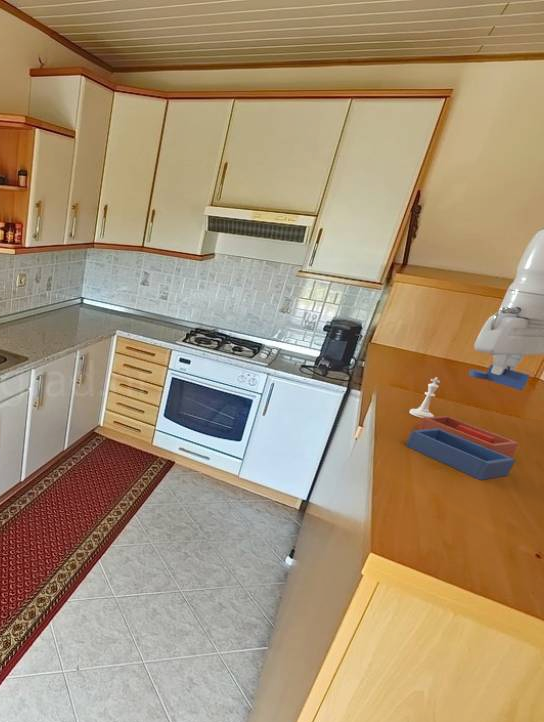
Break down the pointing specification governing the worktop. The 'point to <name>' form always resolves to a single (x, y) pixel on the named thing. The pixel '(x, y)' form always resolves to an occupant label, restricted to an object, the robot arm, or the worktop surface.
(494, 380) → the blue flat paddle
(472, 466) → the blue bin
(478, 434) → the red block
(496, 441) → the red bin
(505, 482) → the worktop surface
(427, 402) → the chess piece
